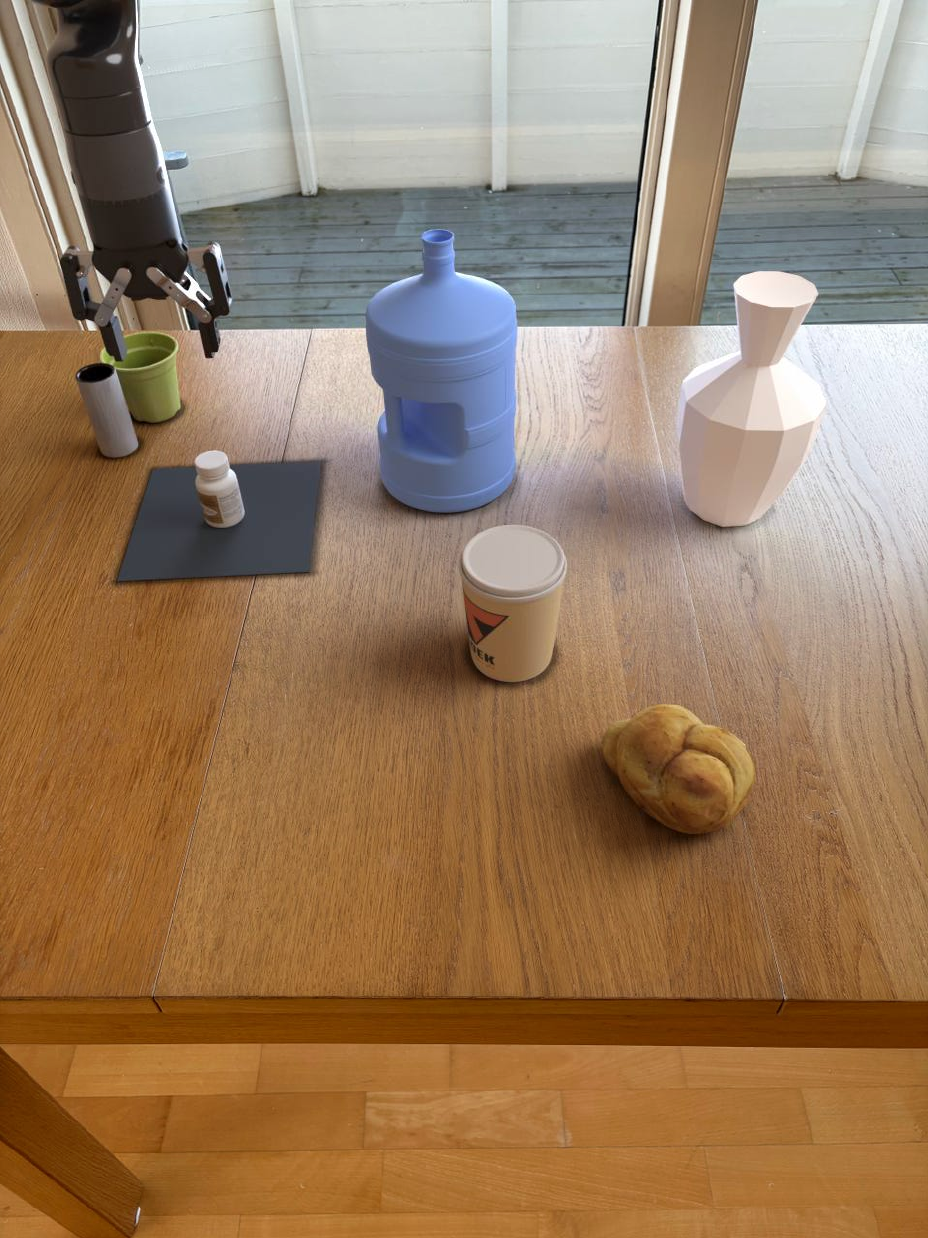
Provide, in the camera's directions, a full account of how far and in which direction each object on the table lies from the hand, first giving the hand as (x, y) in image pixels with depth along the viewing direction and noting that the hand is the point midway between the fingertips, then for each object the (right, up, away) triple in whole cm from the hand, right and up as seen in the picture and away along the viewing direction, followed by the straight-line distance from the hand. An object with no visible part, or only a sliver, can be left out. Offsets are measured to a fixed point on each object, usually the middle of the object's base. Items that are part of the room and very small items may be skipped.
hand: (166, 356), depth 91 cm
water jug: (+27, -9, +20) cm, 34 cm away
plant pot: (-11, +1, +31) cm, 33 cm away
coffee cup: (+33, -29, -1) cm, 44 cm away
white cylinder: (-14, -4, +25) cm, 29 cm away
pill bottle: (+2, -14, +15) cm, 20 cm away
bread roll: (+46, -39, -12) cm, 61 cm away
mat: (+2, -14, +15) cm, 20 cm away
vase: (+58, -13, +14) cm, 61 cm away
